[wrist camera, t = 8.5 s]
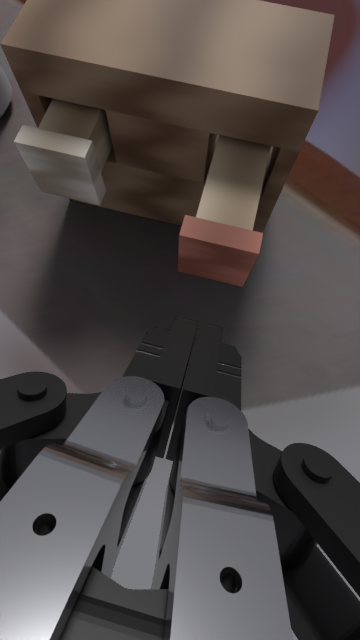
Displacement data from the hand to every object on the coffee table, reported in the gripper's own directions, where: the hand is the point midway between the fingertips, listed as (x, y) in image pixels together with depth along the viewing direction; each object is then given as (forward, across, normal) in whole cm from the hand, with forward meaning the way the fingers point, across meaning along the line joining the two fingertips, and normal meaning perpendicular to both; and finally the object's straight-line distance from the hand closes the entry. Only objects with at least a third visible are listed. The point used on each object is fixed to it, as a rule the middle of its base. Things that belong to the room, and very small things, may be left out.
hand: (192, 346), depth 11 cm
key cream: (+15, +10, -5) cm, 19 cm away
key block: (+21, +5, -2) cm, 22 cm away
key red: (+13, 0, -2) cm, 13 cm away
